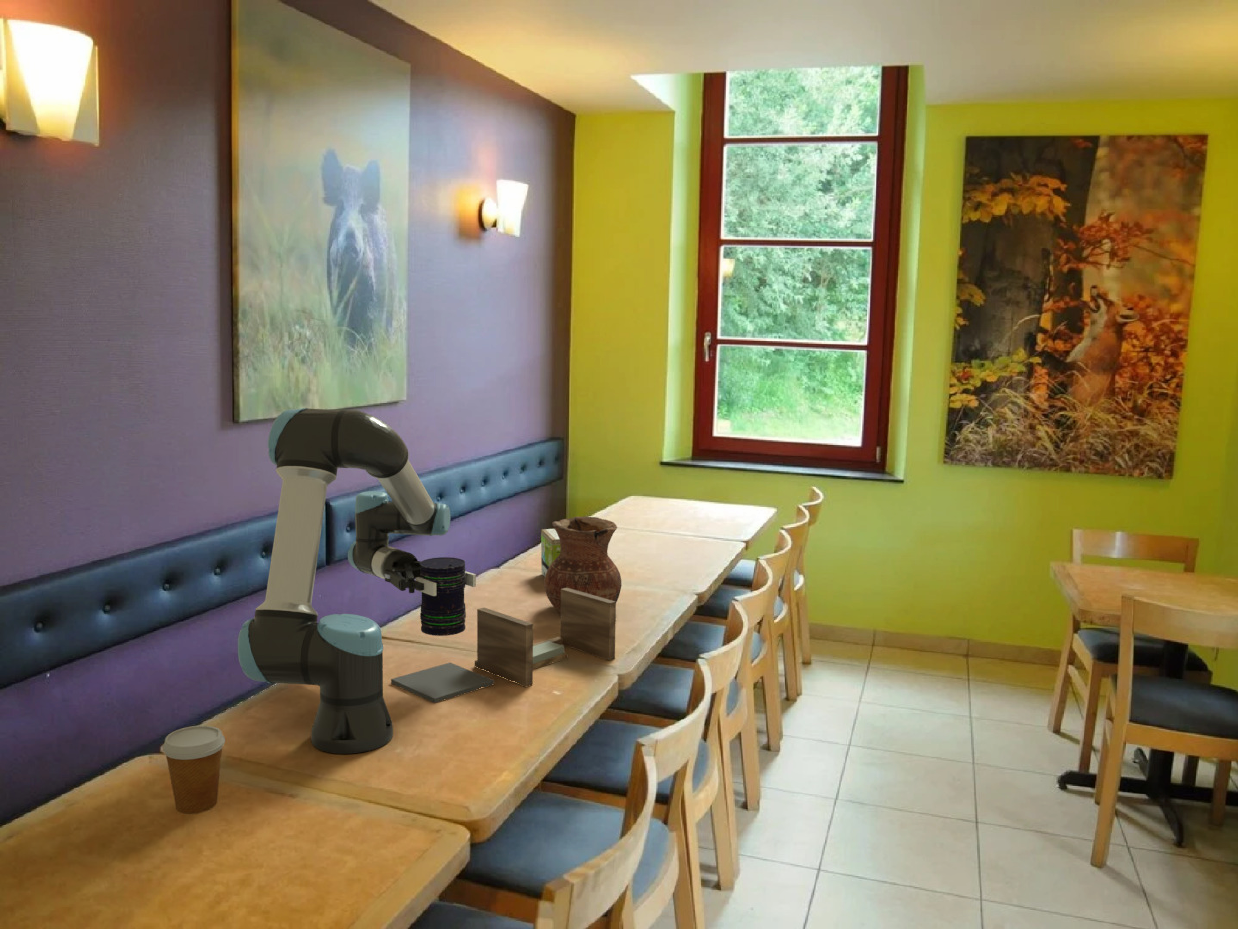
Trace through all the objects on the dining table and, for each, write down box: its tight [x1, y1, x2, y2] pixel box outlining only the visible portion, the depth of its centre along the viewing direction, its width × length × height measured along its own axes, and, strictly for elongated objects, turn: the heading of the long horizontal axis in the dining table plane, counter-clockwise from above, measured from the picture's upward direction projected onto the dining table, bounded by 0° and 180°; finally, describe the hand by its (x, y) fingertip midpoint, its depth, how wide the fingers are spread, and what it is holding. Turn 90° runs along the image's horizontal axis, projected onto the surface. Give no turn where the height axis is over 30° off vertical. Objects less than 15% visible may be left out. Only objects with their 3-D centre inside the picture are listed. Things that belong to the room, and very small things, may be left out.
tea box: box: [540, 528, 561, 577], centre depth 319 cm, size 15×10×15 cm, turn 17°
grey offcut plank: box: [533, 641, 565, 664], centre depth 244 cm, size 11×5×2 cm, turn 141°
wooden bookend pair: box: [474, 588, 617, 687], centre depth 242 cm, size 28×18×14 cm, turn 136°
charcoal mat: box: [390, 662, 495, 704], centre depth 228 cm, size 16×16×1 cm
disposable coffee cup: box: [161, 725, 226, 815], centre depth 170 cm, size 10×10×12 cm
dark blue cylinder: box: [419, 556, 467, 637], centre depth 226 cm, size 10×10×15 cm
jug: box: [543, 516, 622, 613], centre depth 284 cm, size 22×21×25 cm
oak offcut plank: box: [533, 652, 568, 670], centre depth 245 cm, size 12×6×2 cm, turn 137°
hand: (455, 585), depth 223 cm, fingers closed on dark blue cylinder, 10 cm apart
